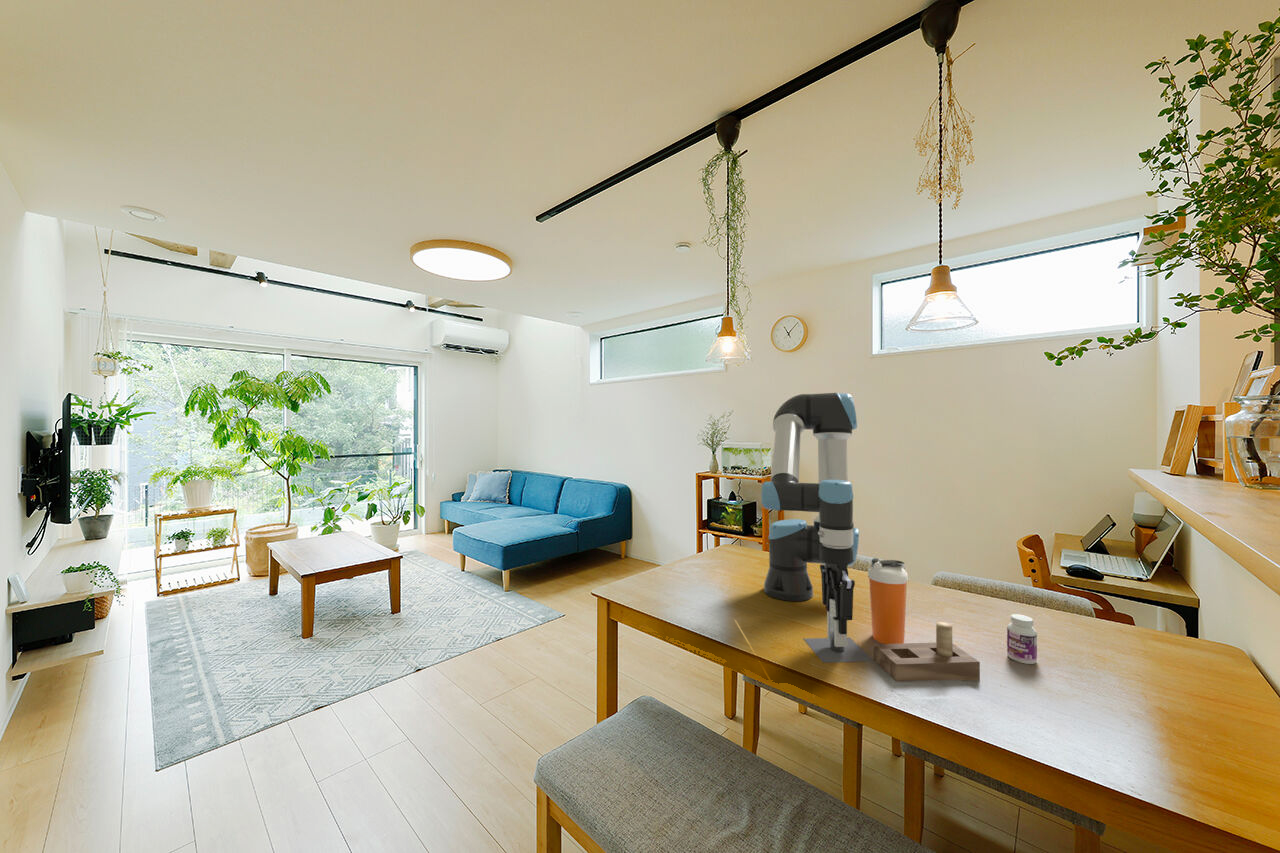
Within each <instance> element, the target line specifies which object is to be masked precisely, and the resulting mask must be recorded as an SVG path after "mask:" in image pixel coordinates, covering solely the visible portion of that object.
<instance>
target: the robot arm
mask: <svg viewBox="0 0 1280 853" xmlns="http://www.w3.org/2000/svg"><path fill="white" fill-rule="evenodd" d="M857 428H858V421H857V413H856V407H855V402H854V398H853V396H852V395H851V394H850V393H844V392H829V393H828V392H827V393H826V392H825V393H801V394H797V395H795V396H792V397H791V398H789V399H787V400H786V401H784V403H782V404H781V405H780V406H779V408H778V409H777V411H776V412H775V414H774V417H773V420H772V429H773V431H774V432H775V435H774V445H773V454H772V463H771V476H770V480H769V481H763V482H762V485H761V490H760V492H761V494H760V495H761V498H760V500H761V506H762V507H763V508H764V509H765V510H770V511H771V510H773V511H789V512H792V511H793V512H795V511H796V512H809V513H818V515H817V516H816V517H815V518H814V519H813V525H811V524H810V525H809V524H808V523H807V521H806V520H804V519H799V518H792V519H791V518H790V519H781V520H777V521H774V522H773V523H771V525H770V526H769V529H768V530H769V531H768V532H769V533H768V542H769V544H768V547H769V553H768V555H769V559H768V560H769V561H768V563H769V568H768V570H767V574H766V576H765V580H764V583H763V591H764V593H765V594H766V595H767V596H769V597H771V598H773V599H778V600H781V601H789V602H790V601H791V602H802V601H806V600H807V601H808V600H810V599H812V597H813V596H814V587H813V584H812V581H811V578H810V575H809V572H808V563H810V564H820V565H819V568H820V577H821V597H822V598H821V599H822V605H823V606H825V610H826V615H827V616H826V622H827V623H826V624H827V625H826V626H827V627H826V629H827V637H826V638H828V639H830V598H831V597H835V608H836V617H833V619H834V644H835V646H836V647H847V637H848V621H852V620H853V616H854V615H853V613H854V612H853V611H854V609H853V608H854V589H855V585H856V581H855V580H854V579H850V578H849V570H848V566H849V567H851V566H853V565H854V564H855V562H856V560H857V557H858V556H857V555H858V550H859V537H860V530H859V529H858V528H857V527H855V526H854V521H853V520H854V519H853V518H854V516H853V515H854V513H853V512H854V504H853V503H854V501H853V500H854V492H853V484H852V482H850V481H848V439H849V438H850V437H852V435H853V430H854V431H855V430H856V429H857ZM804 430H812V436H813V437H815V439H816V440H817V447H818V448H817V452H818V453H817V460H818V461H817V462H818V463H817V464H818V466H817V467H818V470H817V471H818V478H817V479H818V482H800V464H801V463H800V462H801V461H800V460H801V456H800V455H801V435H802V434H803V432H804Z"/></svg>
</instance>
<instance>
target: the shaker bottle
mask: <svg viewBox="0 0 1280 853" xmlns="http://www.w3.org/2000/svg"><path fill="white" fill-rule="evenodd" d="M903 565H905V562H904V561H902V560H896V559H882V560H880V559H879V558H877V557H876V558H875V557H874V558H872V559H871V565H870V567H869V568H868V570H867V572H868V573H867V577H868V580H869V581H868V582H869V583H868V584H869V598H870V614H871V615H870V616H871V632H872V638H873V639H874V640H875V641H876V642H878V643H879V644H902V643H905V636H906V635H905V632H906V630H905V629H906V614H907V613H906V610H907V607H906V606H907V588H908V582H909V580H908V578H909V574H908V573H907V571H906V570H905V569H904V568H903Z"/></svg>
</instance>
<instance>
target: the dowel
mask: <svg viewBox="0 0 1280 853" xmlns="http://www.w3.org/2000/svg"><path fill="white" fill-rule="evenodd" d="M935 633H936V636H935V637H936V638H935V640H936V642H935V643H936V653H937V654H938V655H939V656H941V657H953V645H952V644H953V625H952V624H950V623H947V622H943V621H938V622H936V623H935Z"/></svg>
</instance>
